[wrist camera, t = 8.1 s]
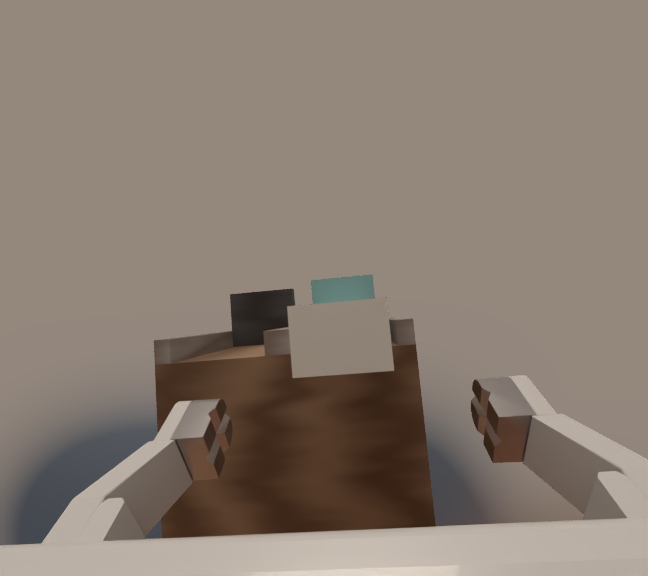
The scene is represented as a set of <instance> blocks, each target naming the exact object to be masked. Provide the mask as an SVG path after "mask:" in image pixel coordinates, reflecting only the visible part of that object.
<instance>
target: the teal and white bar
mask: <svg viewBox="0 0 648 576" xmlns="http://www.w3.org/2000/svg"><path fill="white" fill-rule="evenodd" d="M311 285H312V298H313V304H308V305H297V306H287V312H288V325H289V338H290V351H291V364H292V378H302V377H315V376H329V375H343V374H357V373H371V372H384V371H394V363H393V353H392V344H391V334H390V324H389V315H388V305H387V297H385V298H375V296H374V286H373V276H372V275H363V276H352V277H342V278H331V279H322V280H312V281H311Z"/></svg>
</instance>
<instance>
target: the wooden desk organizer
mask: <svg viewBox="0 0 648 576" xmlns="http://www.w3.org/2000/svg"><path fill="white" fill-rule="evenodd" d="M230 299H231V317H232V331H227V332H219V333H211V334H203V335H195V336H186V337H178V338H171V339H163V340H155V341H154V352H155V376H156V402H157V424H158V425H157V427H158V432H159V431H160V429H161V427H162V426H163V424H164V422H165V420H166V419H167V417H168V415H169V414H170V412H171V410H172V408H173V407H174V405H175V404H176V403H177V402H179V401H193V400H210V399H223V400H224V401H225V404H226V407H227V409H226V411H225V414H226V415H227V416H229V417H230V419H231V422H232V429H233V431H232V440H231V443H230V447H229V448H228V449H227V450H226V451H225V452H224V453H223V454H224V457H225V462H224V465H223V468H222V471H221V474H220V477H219V478H218V479H207V480H196V481H193V483H192V484H191V485H190V486H189V487H188V488H187V490H186V491H185V492H184V493H183V494H182V495H181V496H180V497H179V499H178V500H177V501H176V502H175V503H174V504H173V505H172V507H171V508H170V509H169V510H168V511H167V512H166V513H165V514H164V516H163V517H162V518H161V525H162V538H184V537H206V536H229V535H252V534H275V533H298V532H322V531H345V530H368V529H392V528H414V527H436V526H435V516H434V508H433V498H432V489H431V480H430V470H429V461H428V452H427V443H426V434H425V425H424V415H423V407H422V397H421V388H420V379H419V370H418V361H417V352H416V342H415V333H414V324H413V319H409V318H389V324H390V334H391V344H392V353H393V363H394V371H384V372H371V373H357V374H343V375H329V376H315V377H302V378H292V364H291V351H290V338H289V325H288V312H287V306H295V300H294V290H293V289H283V290H273V291H262V292H252V293H241V294H231V295H230Z"/></svg>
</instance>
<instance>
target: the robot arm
mask: <svg viewBox="0 0 648 576" xmlns="http://www.w3.org/2000/svg"><path fill="white" fill-rule="evenodd" d="M472 390H473V392H474V394H475V397H474V398H473V399H472V400H471V412H472V418H473V421H474V424H475V426H476V428H477V431H478V432H480V433H481V434H483V435H484V446H485V447H486V449H487V452H488V454H489V456H490V458H491V460H492V462H493V463H499V462H500V463H502V462H523V464H524V465H526V466H527V467H528V468H529V469H530V470H532V471H533V472H534V473H535V474H536V475H538V476H539V477H540V478H541V479H543V480H544V481H545V482H546V483H547V484H548V485H550V486H551V487H552V488H553V489H554V490H556V491H557V492H558V493H559V494H560V495H561V496H562V497H564V498H565V499H566V500H567V501H568V502H570V503H571V504H572V505H573V506H575V507H576V508H577V509H578V510H579V511H580V512H581V513H583V514H584V517H583V520H572V521H549V522H526V523H503V524H480V525H458V526H437V527H414V528H392V529H368V530H345V531H322V532H298V533H275V534H252V535H229V536H206V537H184V538H161V539H147V538H146V537H145V536H146V535H147V534H148V533H149V531H150V530H151V529H152V528H153V527H154V525H156V523H157V522H158V521H159V520H160V519H161V518H162V517H163V516H164V514H165V513H166V512H167V511H168V510H169V509H170V508H171V507H172V505H173V504H174V503H175V502H176V501H177V500H178V499H179V497H180V496H181V495H182V494H183V493H184V492H185V491H186V490H187V488H188V487H189V486H190V485H191V484H192V483H193V481H196V480H207V479H218V478H219V477H220V474H221V471H222V468H223V465H224V462H225V457H224V454H223V453H224V452H225V451H226V450H227V449H228V448H229V447H230V443H231V440H232V431H233V429H232V422H231V419H230V417H229V416H227V415H226V414H225V411H226V409H227V407H226V404H225V401H224V400H223V399H210V400H193V401H179V402H177V403H176V404H175V405H174V407H173V408H172V410H171V412H170V414H169V415H168V417H167V419H166V420H165V422H164V424H163V426H162V427H161V429H160V431H159V432H158V434H157V436H156V438H155V439H154V441H150V442H148V443H146V444H145V445H144V446H142V447H141V448H140V449H139V450H137V451H136V452H134V453H133V454H132V455H130V456H129V457H128V458H127V459H125V460H124V461H123V462H121V463H120V464H119V465H117V466H116V467H115V468H113V469H112V470H111V471H109V472H108V473H107V474H105V475H104V476H103V477H101V478H100V479H99V480H98V481H96V482H95V483H93V484H92V485H91V486H89V487H88V488H87V489H86V490H85V491H83V492H82V493H80V494H79V495H78V496H76V497H75V498H74V499H73V500H72V501H71V503H70V504H69V505H68V507H67V508H66V510H65V511H64V512H63V514H62V515H61V517H60V518H59V520H58V521H57V522H56V524H55V525H54V527H53V528H52V529H51V531H50V532H49V534H48V535H47V536H46V538H45V539H44V541H43V542H42V544H24V545H1V546H0V576H648V459H646V458H644V457H642V456H640V455H638V454H636V453H634V452H633V451H631V450H629V449H627V448H625V447H623V446H621V445H619V444H618V443H616V442H614V441H612V440H610V439H608V438H607V437H605V436H603V435H601V434H599V433H597V432H595V431H593V430H592V429H590V428H588V427H586V426H584V425H582V424H580V423H578V422H576V421H575V420H573V419H571V418H569V417H567V416H565V415H564V414H557V413H556V412H555V411H554V410H553V408H552V407H551V406H550V405H549V403H548V402H547V401H546V400H545V398H544V397H543V396H542V394H541V393H540V392H539V391H538V389H537V388H536V387H535V386H534V384H533V383H532V382H531V381H530V379H529V378H528V377H527V376H525V375H520V376H510V377H499V378H488V379H476V380H474V382H473V387H472Z"/></svg>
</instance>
